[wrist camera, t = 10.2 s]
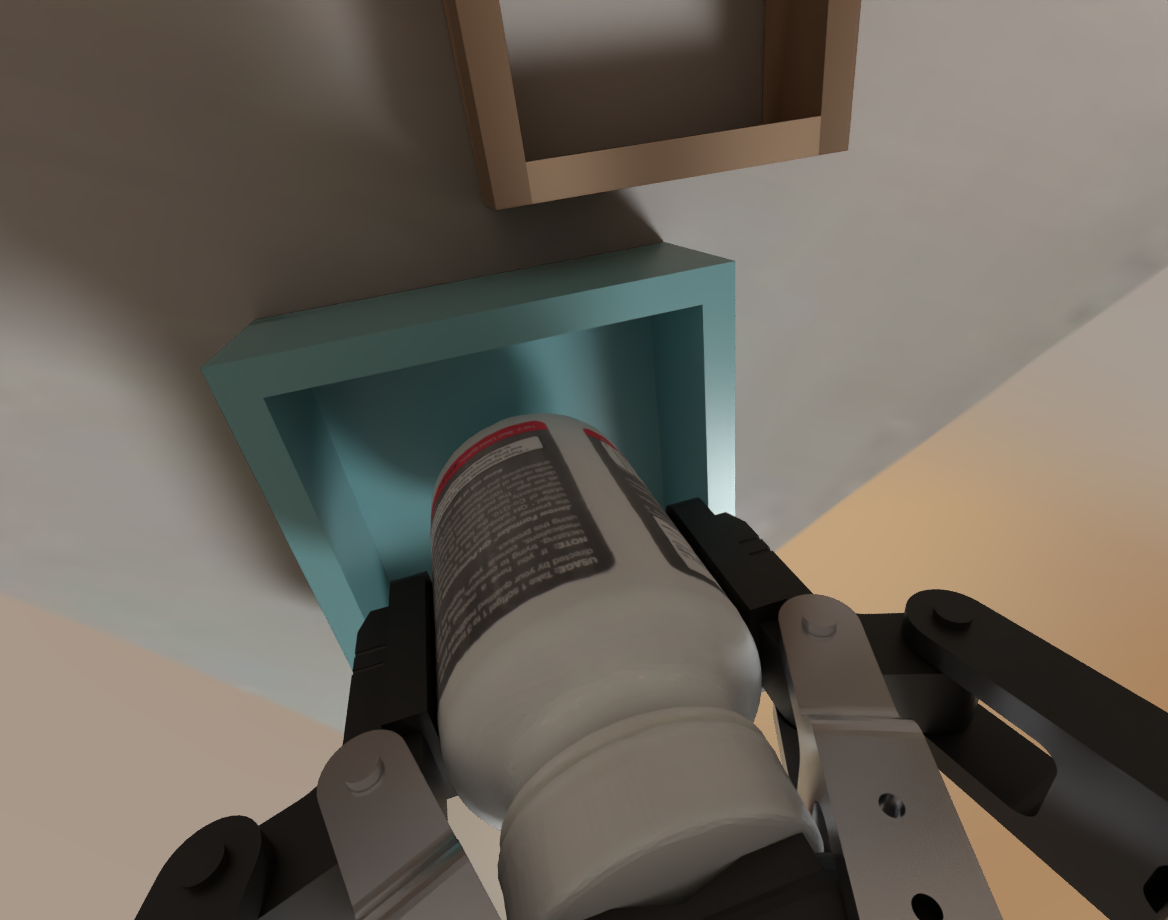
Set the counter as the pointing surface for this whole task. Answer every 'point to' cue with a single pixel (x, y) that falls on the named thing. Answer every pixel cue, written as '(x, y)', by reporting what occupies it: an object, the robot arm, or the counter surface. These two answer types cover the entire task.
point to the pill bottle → (593, 680)
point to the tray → (475, 400)
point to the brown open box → (789, 131)
